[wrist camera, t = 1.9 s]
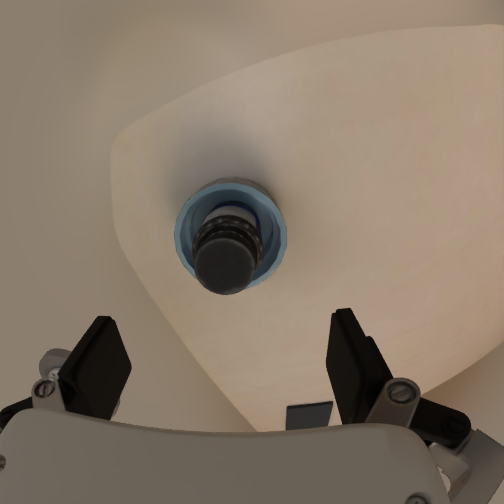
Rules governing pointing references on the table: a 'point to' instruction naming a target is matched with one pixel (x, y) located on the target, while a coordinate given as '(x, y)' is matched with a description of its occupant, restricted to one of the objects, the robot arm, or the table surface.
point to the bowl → (242, 192)
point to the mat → (308, 416)
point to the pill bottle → (228, 248)
